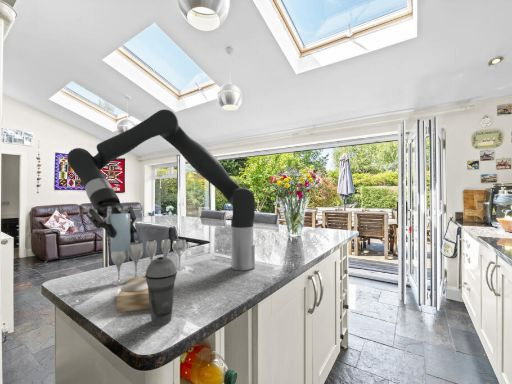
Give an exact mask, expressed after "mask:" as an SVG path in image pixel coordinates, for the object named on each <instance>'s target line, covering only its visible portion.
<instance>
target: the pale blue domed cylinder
mask: <svg viewBox="0 0 512 384" xmlns="http://www.w3.org/2000/svg"><path fill="white" fill-rule="evenodd" d="M110 220H111V223H110V224H112V226H113V227H114V229H115V231H116V233H117V234H116V236H115V237H114V238H111V237H110V236H109V238H110V252H111V251H112V252H121V251H126V252H128V250H130V243H131V235H130V213H118V214H110Z"/></svg>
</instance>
